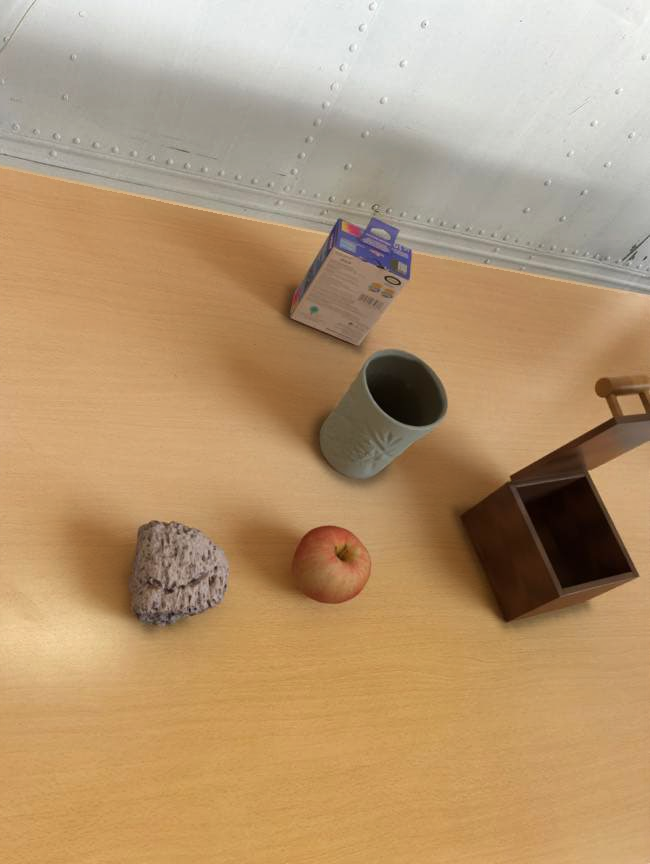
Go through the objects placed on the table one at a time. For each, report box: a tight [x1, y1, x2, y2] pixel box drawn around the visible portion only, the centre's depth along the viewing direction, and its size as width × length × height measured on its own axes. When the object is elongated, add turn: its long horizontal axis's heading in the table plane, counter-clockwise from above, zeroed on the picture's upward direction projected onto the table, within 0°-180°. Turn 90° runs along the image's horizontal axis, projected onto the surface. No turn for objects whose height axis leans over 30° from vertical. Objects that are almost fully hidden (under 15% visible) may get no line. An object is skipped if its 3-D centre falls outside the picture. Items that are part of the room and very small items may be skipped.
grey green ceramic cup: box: [318, 348, 449, 480], centre depth 86 cm, size 10×10×12 cm
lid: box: [509, 373, 650, 483], centre depth 82 cm, size 14×13×6 cm
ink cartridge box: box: [289, 216, 413, 347], centre depth 92 cm, size 10×6×14 cm, turn 81°
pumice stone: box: [128, 519, 230, 628], centre depth 73 cm, size 10×8×10 cm
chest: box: [460, 471, 641, 624], centre depth 90 cm, size 14×13×9 cm
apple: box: [291, 525, 372, 605], centre depth 78 cm, size 8×8×8 cm
